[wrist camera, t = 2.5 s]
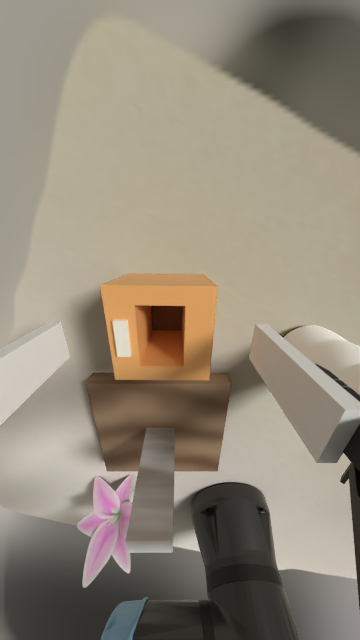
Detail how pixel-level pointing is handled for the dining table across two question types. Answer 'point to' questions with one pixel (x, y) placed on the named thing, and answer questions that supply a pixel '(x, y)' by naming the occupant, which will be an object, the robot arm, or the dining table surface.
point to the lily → (107, 527)
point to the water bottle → (329, 352)
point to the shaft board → (160, 412)
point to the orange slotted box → (160, 345)
